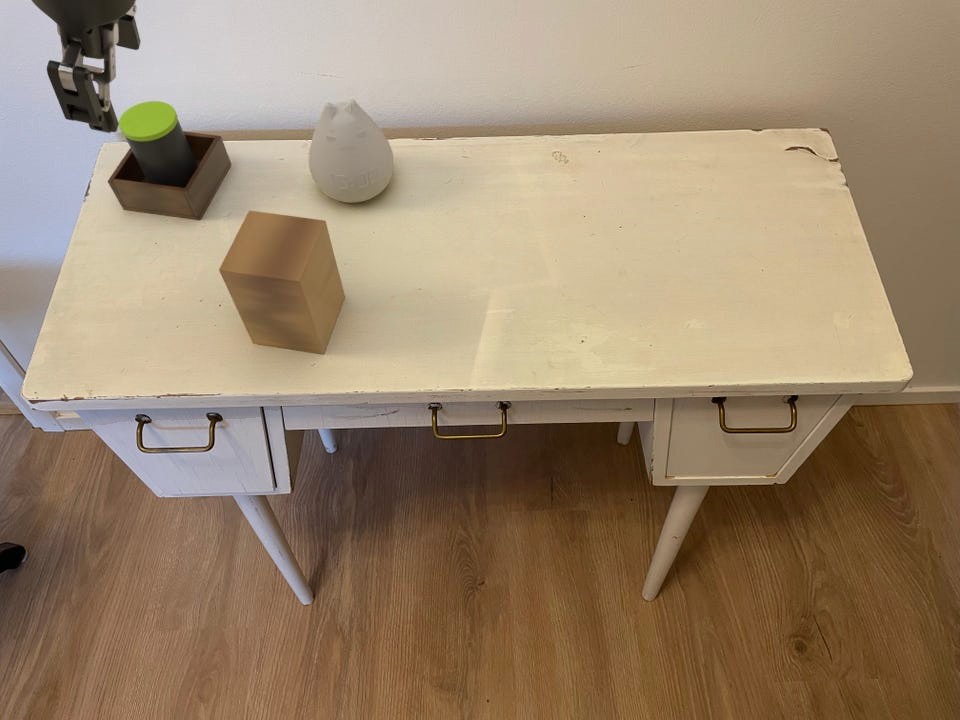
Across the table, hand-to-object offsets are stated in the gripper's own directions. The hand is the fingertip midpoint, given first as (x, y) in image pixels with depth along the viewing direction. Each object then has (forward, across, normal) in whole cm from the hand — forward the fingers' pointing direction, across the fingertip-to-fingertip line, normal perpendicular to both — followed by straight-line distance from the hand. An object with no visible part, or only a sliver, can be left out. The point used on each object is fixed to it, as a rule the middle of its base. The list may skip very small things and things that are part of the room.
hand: (116, 85), depth 63 cm
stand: (+18, +13, +18) cm, 28 cm away
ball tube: (+28, -6, 0) cm, 29 cm away
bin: (+29, -6, 0) cm, 29 cm away
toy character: (+23, -8, +22) cm, 33 cm away
